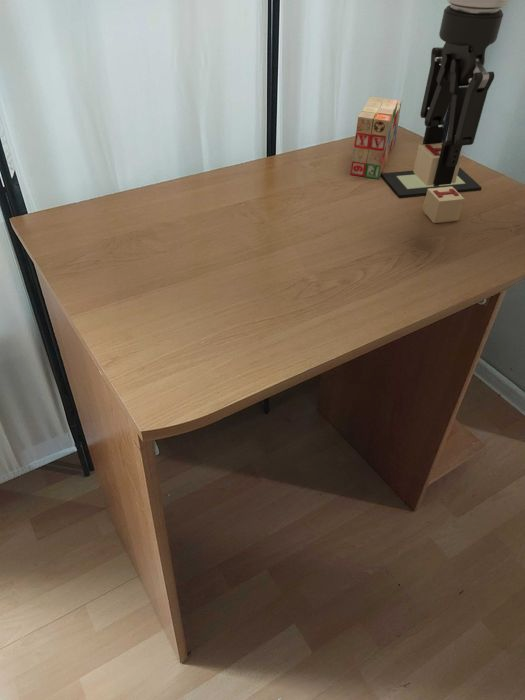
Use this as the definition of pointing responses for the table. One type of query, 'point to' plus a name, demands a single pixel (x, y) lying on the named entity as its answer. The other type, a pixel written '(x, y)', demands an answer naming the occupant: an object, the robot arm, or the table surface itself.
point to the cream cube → (430, 163)
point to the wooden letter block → (443, 204)
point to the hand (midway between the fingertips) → (433, 175)
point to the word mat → (413, 186)
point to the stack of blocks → (375, 136)
